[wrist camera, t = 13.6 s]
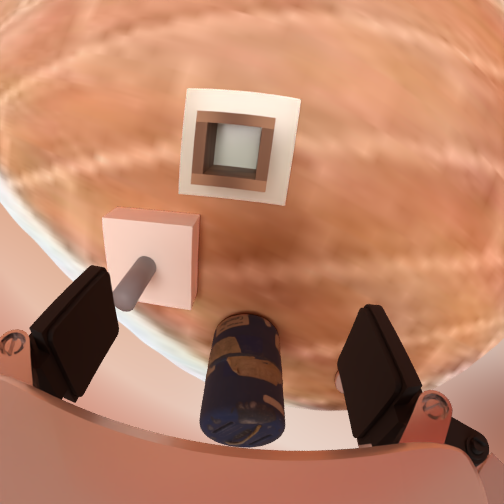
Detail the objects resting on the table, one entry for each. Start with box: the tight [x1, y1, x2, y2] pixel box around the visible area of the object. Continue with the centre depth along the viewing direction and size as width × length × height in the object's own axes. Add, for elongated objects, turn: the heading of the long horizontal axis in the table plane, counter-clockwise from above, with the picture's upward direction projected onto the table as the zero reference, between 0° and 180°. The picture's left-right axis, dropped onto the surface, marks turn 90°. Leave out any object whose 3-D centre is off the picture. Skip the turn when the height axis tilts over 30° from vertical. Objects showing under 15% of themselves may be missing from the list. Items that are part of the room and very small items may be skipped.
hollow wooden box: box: [191, 110, 276, 192], centre depth 25 cm, size 7×7×6 cm
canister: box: [200, 314, 285, 447], centre depth 32 cm, size 10×10×18 cm
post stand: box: [102, 207, 200, 311], centre depth 29 cm, size 11×11×11 cm
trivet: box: [179, 88, 301, 206], centre depth 28 cm, size 12×12×1 cm
